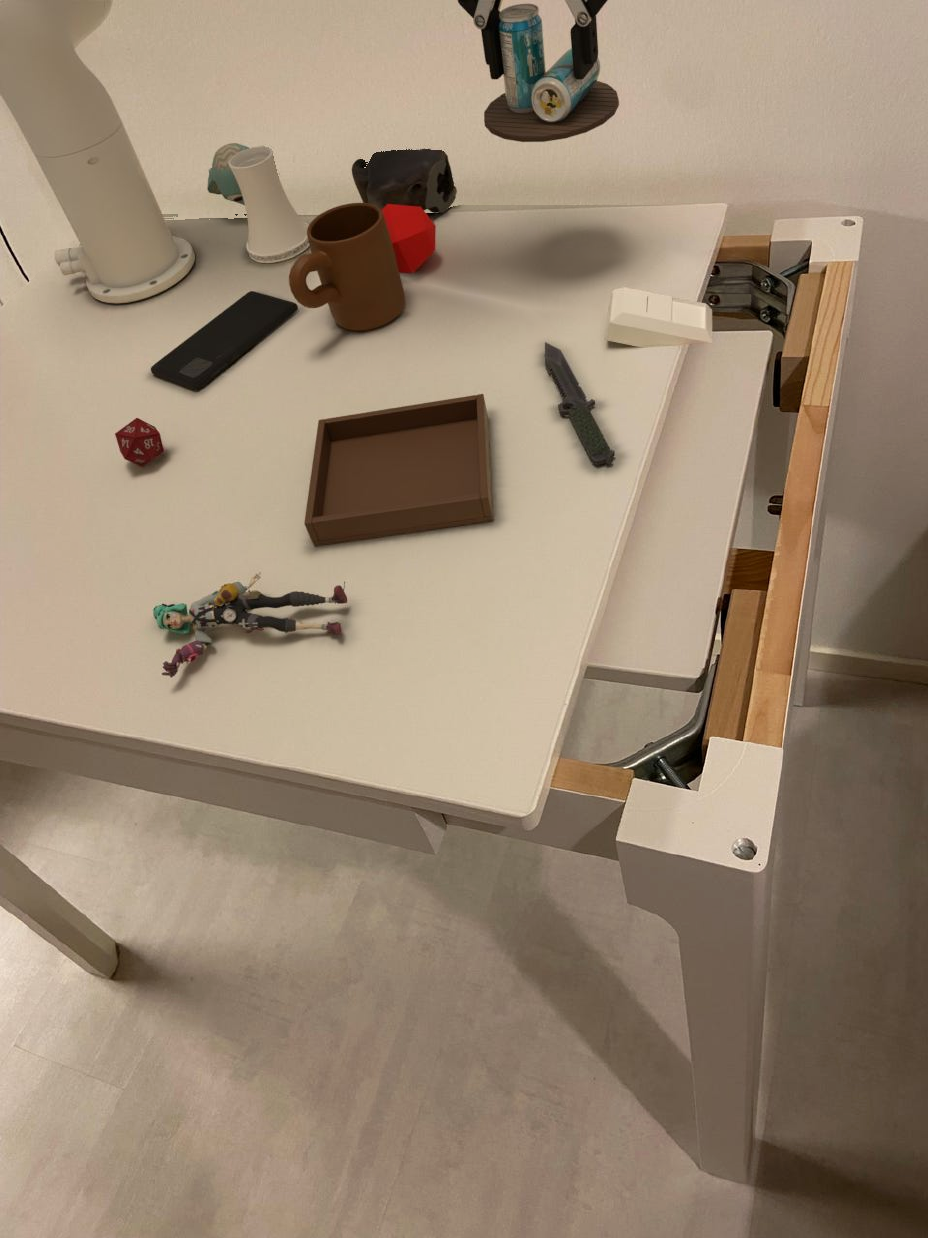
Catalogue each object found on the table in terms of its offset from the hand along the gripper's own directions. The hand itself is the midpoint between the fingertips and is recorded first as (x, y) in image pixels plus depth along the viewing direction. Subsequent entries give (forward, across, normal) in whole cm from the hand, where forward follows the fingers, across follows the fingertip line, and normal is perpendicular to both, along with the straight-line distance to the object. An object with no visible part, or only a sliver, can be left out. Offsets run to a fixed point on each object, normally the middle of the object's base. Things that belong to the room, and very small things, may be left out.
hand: (542, 70), depth 81 cm
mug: (+18, +16, +14) cm, 28 cm away
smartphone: (+18, +29, +20) cm, 39 cm away
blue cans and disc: (+4, 0, 0) cm, 4 cm away
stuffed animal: (+19, +44, -11) cm, 49 cm away
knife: (+17, -11, +20) cm, 29 cm away
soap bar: (+18, -13, +10) cm, 24 cm away
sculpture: (+17, +16, -1) cm, 23 cm away
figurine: (+15, -3, +49) cm, 52 cm away
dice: (+18, +25, +37) cm, 48 cm away
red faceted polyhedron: (+14, +12, +2) cm, 19 cm away
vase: (+18, +33, +2) cm, 38 cm away
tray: (+17, 0, +34) cm, 38 cm away
